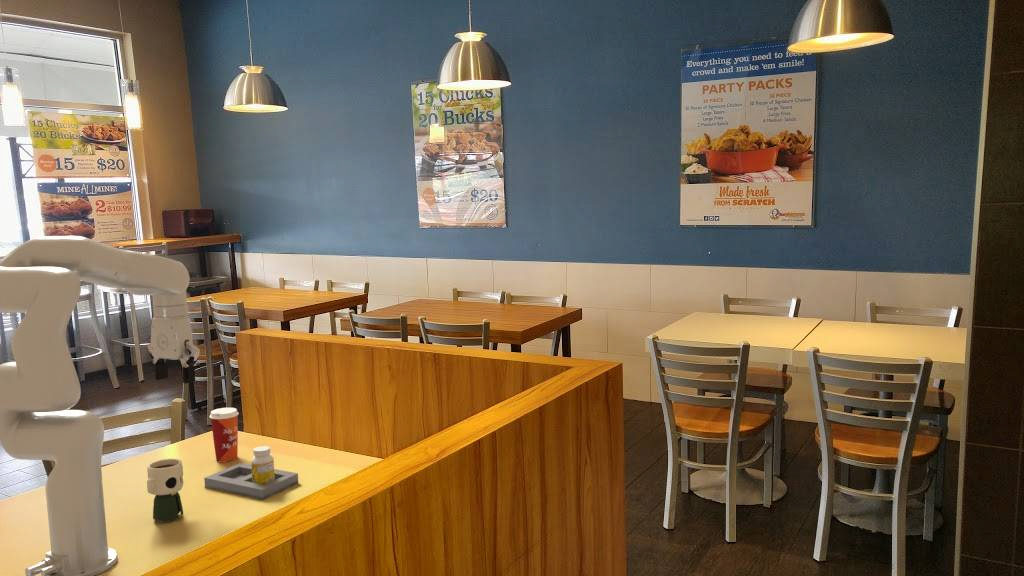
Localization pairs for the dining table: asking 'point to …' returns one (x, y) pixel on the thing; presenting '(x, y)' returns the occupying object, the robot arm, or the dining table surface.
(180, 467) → the character mug
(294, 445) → the dining table surface
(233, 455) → the paper cup
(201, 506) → the dining table surface
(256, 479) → the supplement bottle
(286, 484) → the drink carrier
